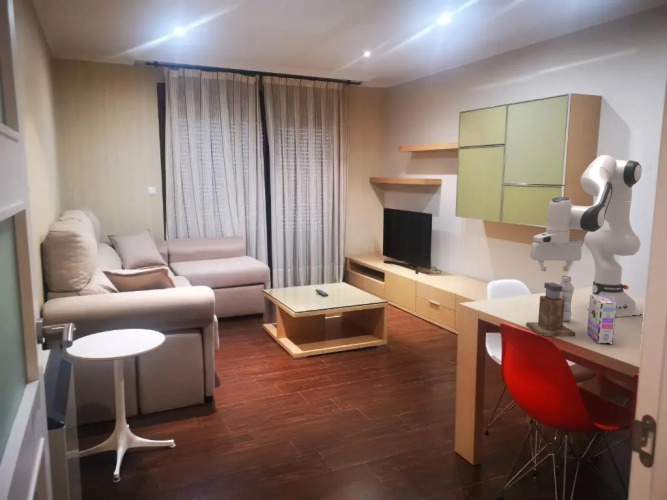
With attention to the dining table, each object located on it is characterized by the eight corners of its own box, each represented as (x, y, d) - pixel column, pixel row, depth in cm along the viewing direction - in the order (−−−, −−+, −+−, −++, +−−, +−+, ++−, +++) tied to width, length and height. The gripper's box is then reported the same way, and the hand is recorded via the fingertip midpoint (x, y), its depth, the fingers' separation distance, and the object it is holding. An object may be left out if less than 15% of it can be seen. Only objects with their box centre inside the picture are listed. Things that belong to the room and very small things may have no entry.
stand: (557, 325, 218) (560, 293, 216) (574, 335, 204) (577, 302, 202) (525, 325, 217) (528, 294, 215) (541, 336, 203) (543, 302, 201)
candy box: (613, 345, 194) (617, 303, 191) (597, 343, 195) (601, 302, 192) (601, 333, 207) (605, 294, 205) (586, 332, 208) (589, 294, 206)
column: (550, 324, 214) (554, 282, 211) (558, 329, 207) (562, 286, 204) (541, 324, 213) (544, 282, 211) (549, 329, 207) (552, 286, 204)
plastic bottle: (552, 318, 228) (555, 275, 225) (567, 318, 228) (571, 275, 225) (557, 322, 222) (561, 278, 219) (573, 322, 222) (577, 278, 219)
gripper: (577, 236, 208) (574, 269, 210) (529, 236, 207) (527, 269, 209) (586, 238, 202) (583, 272, 204) (536, 238, 201) (533, 272, 203)
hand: (554, 271), depth 206 cm, fingers open, 8 cm apart
